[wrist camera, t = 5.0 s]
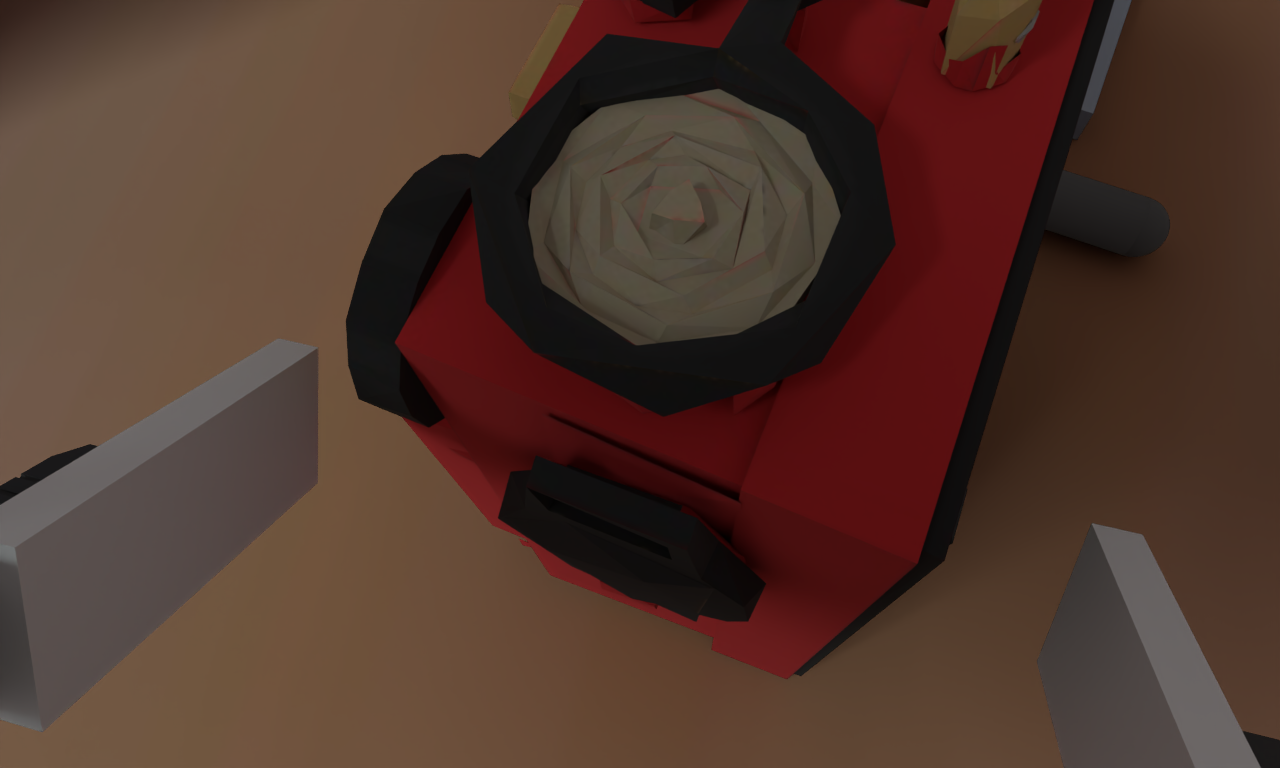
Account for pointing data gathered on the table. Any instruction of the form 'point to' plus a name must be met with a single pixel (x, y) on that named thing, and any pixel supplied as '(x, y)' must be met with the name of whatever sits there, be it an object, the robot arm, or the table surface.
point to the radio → (732, 296)
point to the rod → (1107, 216)
